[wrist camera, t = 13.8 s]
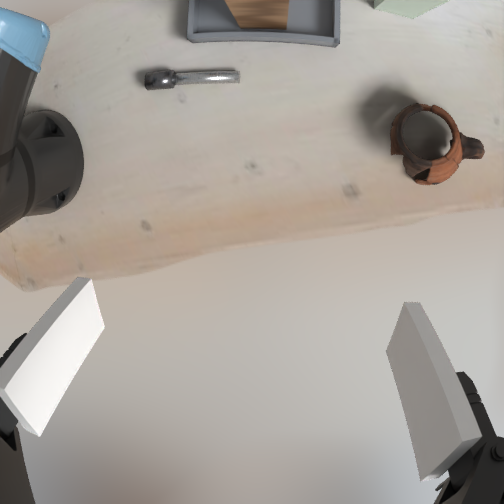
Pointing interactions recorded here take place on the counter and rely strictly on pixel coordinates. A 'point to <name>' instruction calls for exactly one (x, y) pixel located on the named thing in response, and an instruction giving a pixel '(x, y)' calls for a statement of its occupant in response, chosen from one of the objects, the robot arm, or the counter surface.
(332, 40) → the slate tray
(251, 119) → the counter surface
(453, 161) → the pottery mug
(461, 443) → the robot arm
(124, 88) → the counter surface
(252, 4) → the walnut block
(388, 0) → the sage block
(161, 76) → the rod
